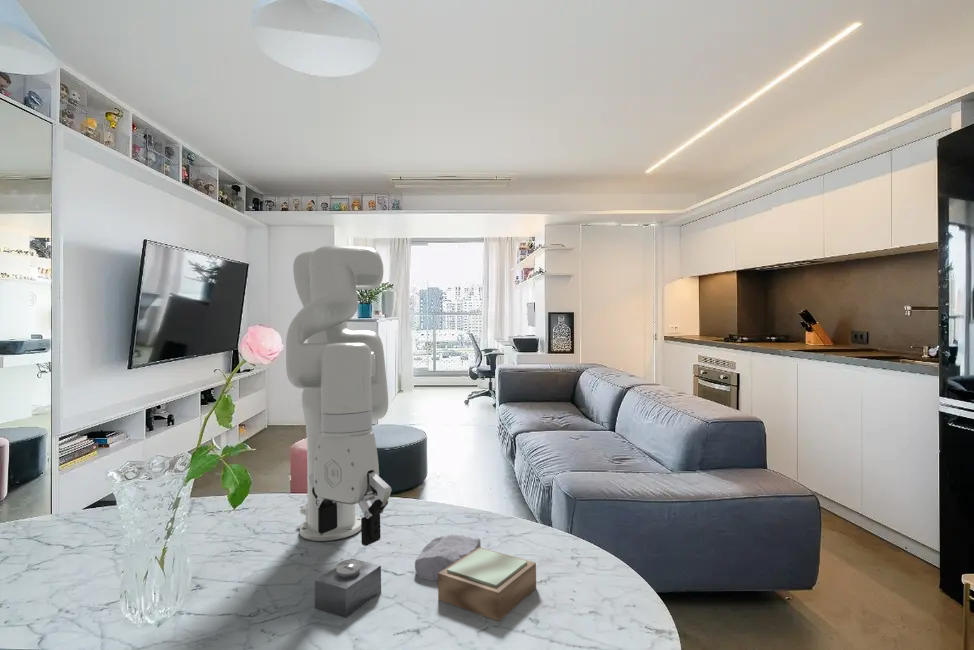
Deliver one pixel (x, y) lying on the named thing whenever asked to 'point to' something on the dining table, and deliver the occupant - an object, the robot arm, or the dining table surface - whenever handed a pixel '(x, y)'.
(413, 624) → the dining table surface
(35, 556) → the dining table surface
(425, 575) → the stone block
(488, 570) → the stand
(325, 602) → the housing
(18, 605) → the dining table surface
